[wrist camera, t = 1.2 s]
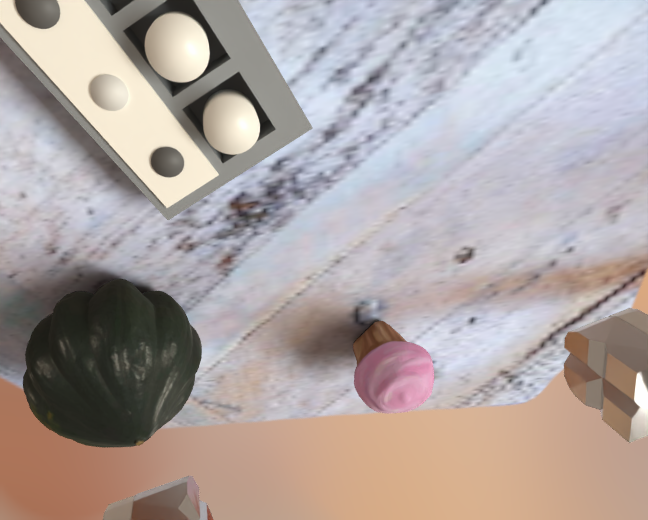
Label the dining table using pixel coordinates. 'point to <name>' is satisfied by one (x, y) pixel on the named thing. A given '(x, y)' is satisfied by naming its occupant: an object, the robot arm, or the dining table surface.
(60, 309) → the squash
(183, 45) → the button
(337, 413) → the dining table surface
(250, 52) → the button board
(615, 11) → the dining table surface
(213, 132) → the button
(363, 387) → the cupcake
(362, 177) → the dining table surface
